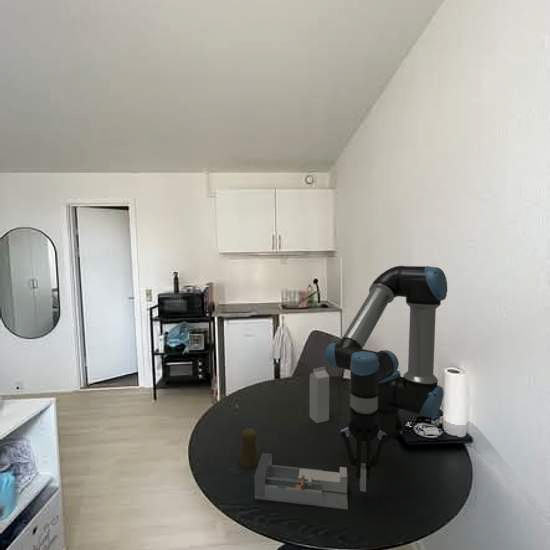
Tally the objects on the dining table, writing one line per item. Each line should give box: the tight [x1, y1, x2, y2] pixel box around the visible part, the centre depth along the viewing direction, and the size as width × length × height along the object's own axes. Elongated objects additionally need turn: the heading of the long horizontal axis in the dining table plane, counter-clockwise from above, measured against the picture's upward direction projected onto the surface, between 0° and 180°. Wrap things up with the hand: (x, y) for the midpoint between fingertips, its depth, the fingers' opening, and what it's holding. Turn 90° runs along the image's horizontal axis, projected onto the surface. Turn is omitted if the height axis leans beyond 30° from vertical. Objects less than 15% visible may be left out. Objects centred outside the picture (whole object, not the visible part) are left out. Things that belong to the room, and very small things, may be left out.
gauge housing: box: [254, 452, 349, 510], centre depth 101 cm, size 26×11×7 cm, turn 80°
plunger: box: [298, 466, 348, 494], centre depth 100 cm, size 14×7×5 cm, turn 80°
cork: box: [239, 428, 259, 469], centre depth 114 cm, size 6×6×11 cm
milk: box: [309, 366, 330, 424], centre depth 144 cm, size 6×6×22 cm
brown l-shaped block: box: [296, 475, 305, 489], centre depth 97 cm, size 2×4×5 cm, turn 170°
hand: (362, 488), depth 98 cm, fingers closed
